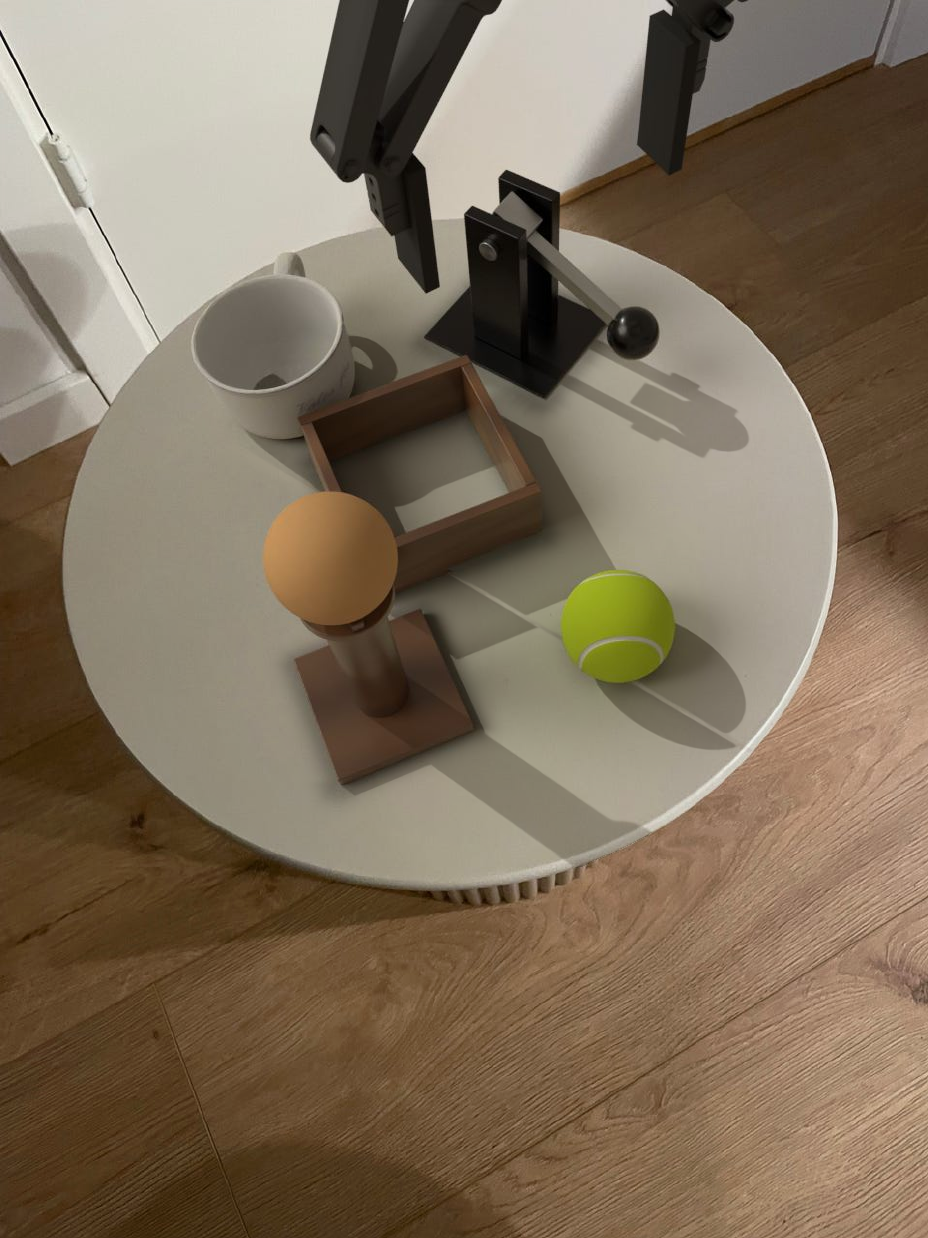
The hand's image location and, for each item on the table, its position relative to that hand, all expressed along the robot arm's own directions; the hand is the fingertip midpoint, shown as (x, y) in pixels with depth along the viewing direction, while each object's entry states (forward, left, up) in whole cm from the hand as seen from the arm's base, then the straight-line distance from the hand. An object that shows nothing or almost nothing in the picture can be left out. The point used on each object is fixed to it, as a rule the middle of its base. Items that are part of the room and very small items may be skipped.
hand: (541, 214), depth 48 cm
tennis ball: (-12, 0, -25) cm, 28 cm away
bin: (+4, +7, -25) cm, 27 cm away
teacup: (+18, +12, -25) cm, 33 cm away
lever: (+11, -7, -18) cm, 22 cm away
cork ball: (-9, +15, -7) cm, 19 cm away
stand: (-9, +15, -25) cm, 31 cm away
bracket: (+15, -5, -25) cm, 30 cm away
